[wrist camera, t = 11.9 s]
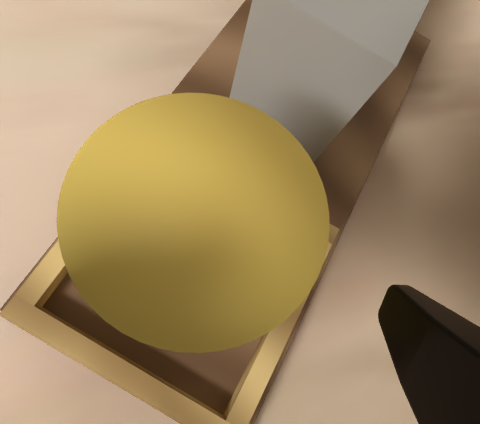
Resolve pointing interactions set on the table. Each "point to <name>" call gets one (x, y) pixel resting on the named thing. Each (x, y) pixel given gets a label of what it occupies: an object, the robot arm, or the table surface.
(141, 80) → the table surface
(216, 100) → the mustard peg
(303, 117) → the slate grey standing blocks
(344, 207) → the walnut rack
